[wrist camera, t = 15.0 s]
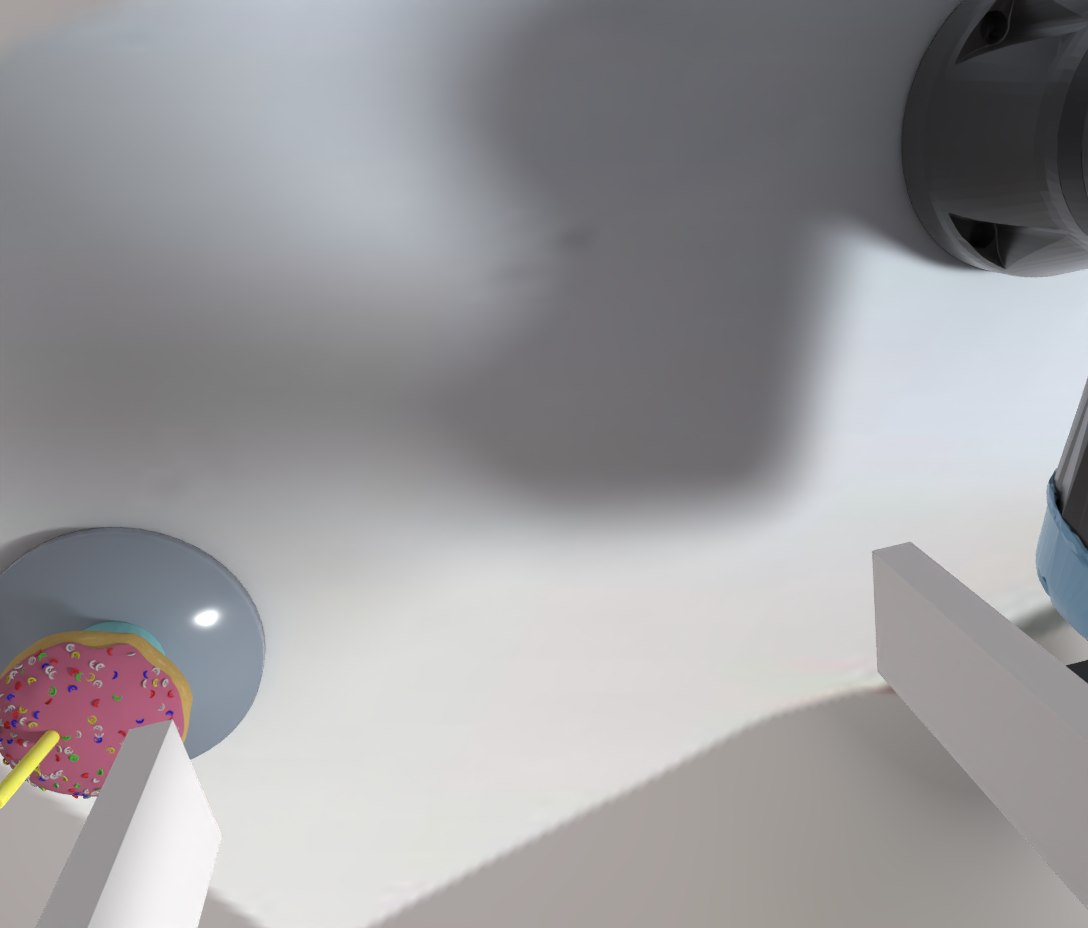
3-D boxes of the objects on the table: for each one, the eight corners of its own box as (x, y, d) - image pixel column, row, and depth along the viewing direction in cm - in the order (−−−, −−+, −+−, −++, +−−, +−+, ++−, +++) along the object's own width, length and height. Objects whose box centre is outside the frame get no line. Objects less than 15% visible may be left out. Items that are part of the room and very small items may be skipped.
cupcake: (-2, 691, 44) (-130, 880, 33) (71, 557, 42) (-37, 709, 31) (163, 751, 46) (96, 943, 35) (238, 629, 45) (193, 790, 34)
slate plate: (60, 477, 42) (52, 486, 40) (315, 609, 46) (314, 620, 45) (-74, 691, 44) (-86, 705, 43) (181, 795, 49) (176, 810, 48)
